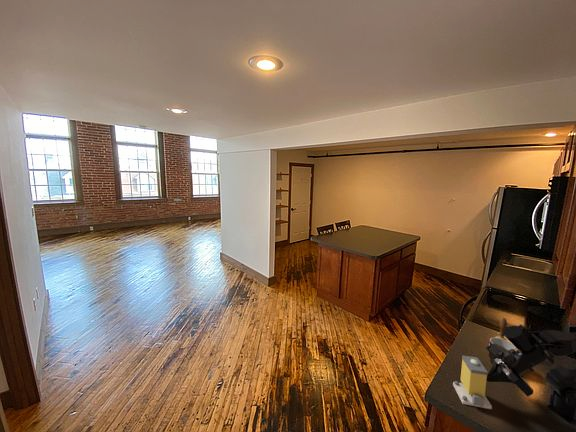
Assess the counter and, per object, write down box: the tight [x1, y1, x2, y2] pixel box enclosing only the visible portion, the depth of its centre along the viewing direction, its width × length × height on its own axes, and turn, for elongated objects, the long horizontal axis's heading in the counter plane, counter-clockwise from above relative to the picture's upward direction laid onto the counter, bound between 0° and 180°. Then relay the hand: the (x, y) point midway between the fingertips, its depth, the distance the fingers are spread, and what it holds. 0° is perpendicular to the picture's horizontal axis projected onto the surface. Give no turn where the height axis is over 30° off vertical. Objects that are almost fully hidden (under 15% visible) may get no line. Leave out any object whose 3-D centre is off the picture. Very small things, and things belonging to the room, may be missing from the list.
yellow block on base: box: [460, 355, 489, 397], centre depth 93 cm, size 5×8×13 cm, turn 166°
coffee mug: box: [488, 337, 516, 366], centre depth 110 cm, size 12×9×10 cm
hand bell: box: [488, 317, 508, 346], centre depth 119 cm, size 8×8×16 cm
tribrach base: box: [452, 380, 493, 410], centre depth 94 cm, size 9×11×4 cm
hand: (486, 380), depth 92 cm, fingers closed
